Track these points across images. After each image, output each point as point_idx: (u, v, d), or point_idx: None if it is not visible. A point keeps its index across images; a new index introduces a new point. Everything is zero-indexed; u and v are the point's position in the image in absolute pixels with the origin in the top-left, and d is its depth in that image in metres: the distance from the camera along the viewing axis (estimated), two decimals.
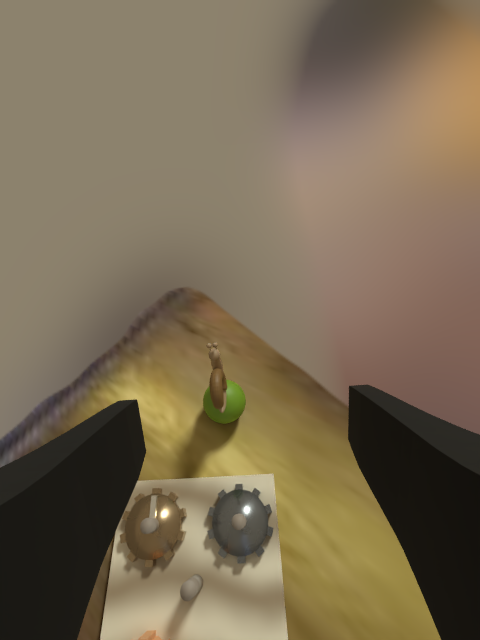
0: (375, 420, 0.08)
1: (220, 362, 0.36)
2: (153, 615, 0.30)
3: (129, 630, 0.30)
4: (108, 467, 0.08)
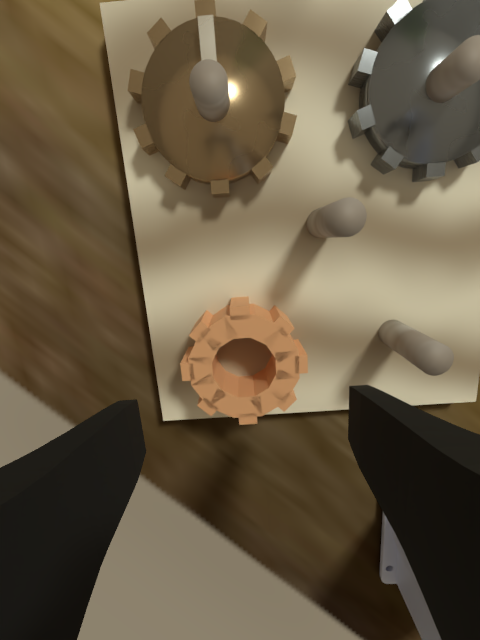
0: (375, 420, 0.08)
1: None
2: (239, 276, 0.16)
3: (198, 299, 0.16)
4: (108, 467, 0.08)
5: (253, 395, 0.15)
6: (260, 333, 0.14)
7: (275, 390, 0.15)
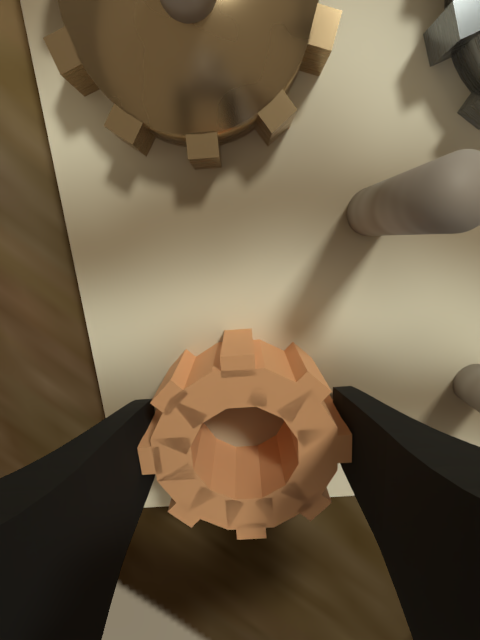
0: (355, 421, 0.08)
1: None
2: (237, 297, 0.10)
3: (173, 332, 0.10)
4: (128, 466, 0.08)
5: (259, 495, 0.09)
6: (273, 399, 0.08)
7: (296, 488, 0.09)
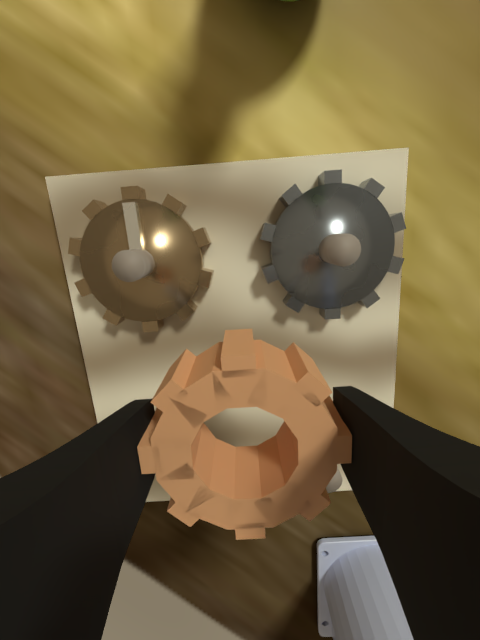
0: (355, 421, 0.08)
1: None
2: None
3: None
4: (128, 466, 0.08)
5: (258, 495, 0.09)
6: (273, 400, 0.08)
7: (296, 489, 0.09)
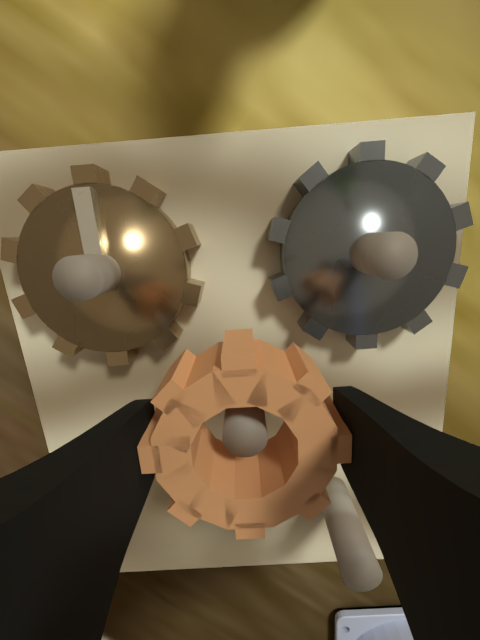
0: (355, 421, 0.08)
1: None
2: None
3: None
4: (128, 466, 0.08)
5: (258, 495, 0.09)
6: (273, 400, 0.08)
7: (296, 489, 0.09)
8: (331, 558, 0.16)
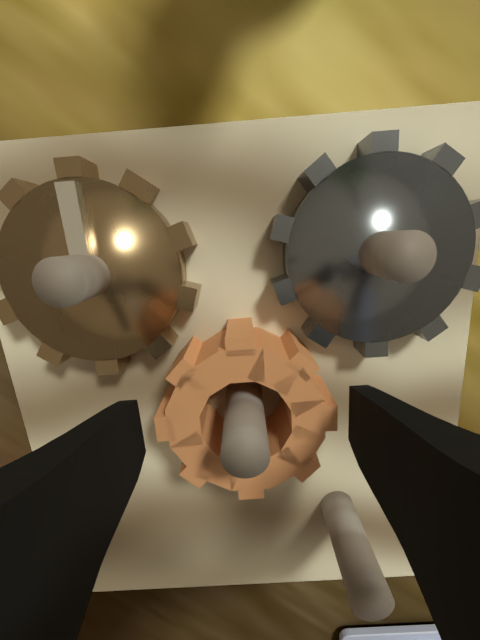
0: (375, 420, 0.08)
1: None
2: (149, 445, 0.13)
3: None
4: (108, 467, 0.08)
5: None
6: (269, 375, 0.10)
7: (290, 454, 0.10)
8: (336, 576, 0.15)
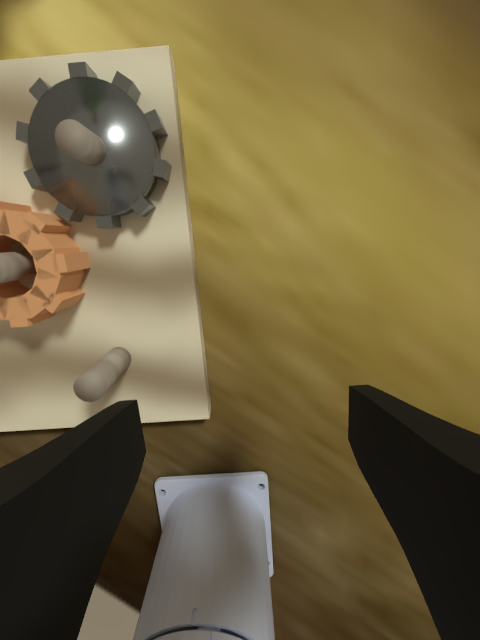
0: (375, 420, 0.08)
1: None
2: None
3: None
4: (108, 467, 0.08)
5: (20, 296, 0.15)
6: (12, 230, 0.15)
7: (39, 290, 0.15)
8: None
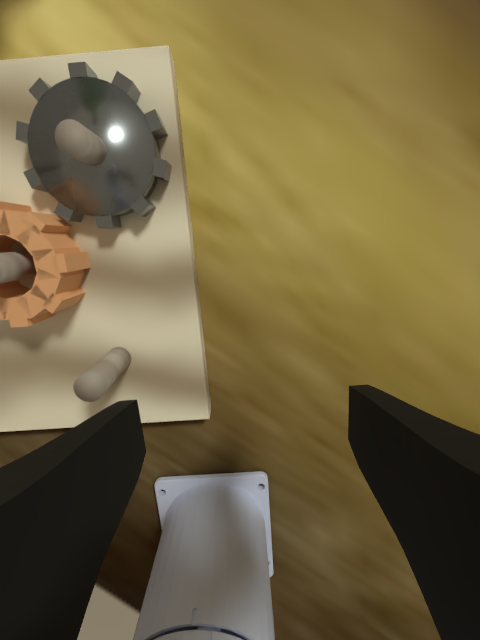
0: (375, 420, 0.08)
1: None
2: None
3: None
4: (108, 467, 0.08)
5: (20, 296, 0.15)
6: (12, 230, 0.15)
7: (39, 290, 0.15)
8: None
